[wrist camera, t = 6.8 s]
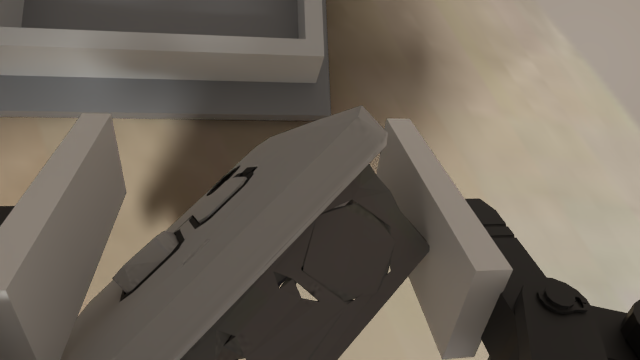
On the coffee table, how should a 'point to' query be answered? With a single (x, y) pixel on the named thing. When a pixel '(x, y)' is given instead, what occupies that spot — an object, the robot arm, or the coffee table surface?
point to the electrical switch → (264, 258)
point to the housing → (165, 59)
